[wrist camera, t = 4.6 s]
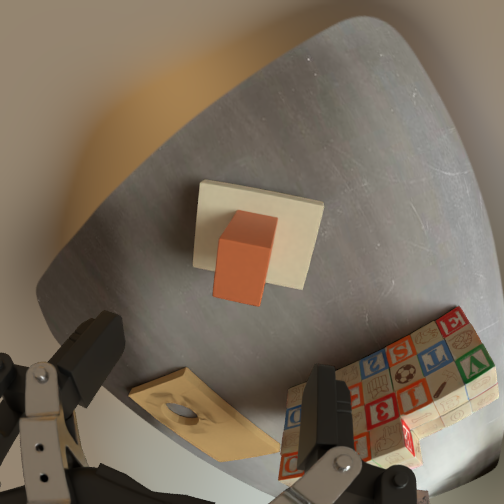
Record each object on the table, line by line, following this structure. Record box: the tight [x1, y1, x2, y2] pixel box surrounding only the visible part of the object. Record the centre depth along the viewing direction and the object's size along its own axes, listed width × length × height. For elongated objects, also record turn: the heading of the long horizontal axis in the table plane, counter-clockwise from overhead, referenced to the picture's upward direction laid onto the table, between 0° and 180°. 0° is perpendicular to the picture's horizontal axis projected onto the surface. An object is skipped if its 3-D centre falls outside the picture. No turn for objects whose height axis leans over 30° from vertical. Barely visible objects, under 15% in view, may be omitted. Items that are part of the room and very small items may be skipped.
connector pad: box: [193, 179, 324, 307], centre depth 21 cm, size 9×7×8 cm
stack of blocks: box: [278, 306, 499, 487], centre depth 24 cm, size 21×6×12 cm, turn 128°
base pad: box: [128, 367, 280, 462], centre depth 37 cm, size 20×12×2 cm, turn 38°
